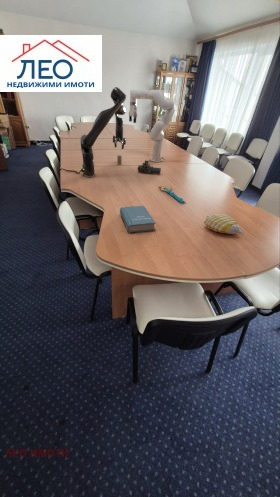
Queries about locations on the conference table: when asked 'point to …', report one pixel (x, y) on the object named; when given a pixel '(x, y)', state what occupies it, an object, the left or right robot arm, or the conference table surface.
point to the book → (137, 219)
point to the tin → (119, 160)
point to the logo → (171, 193)
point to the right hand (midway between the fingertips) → (132, 122)
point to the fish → (223, 224)
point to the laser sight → (148, 168)
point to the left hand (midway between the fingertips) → (119, 148)
